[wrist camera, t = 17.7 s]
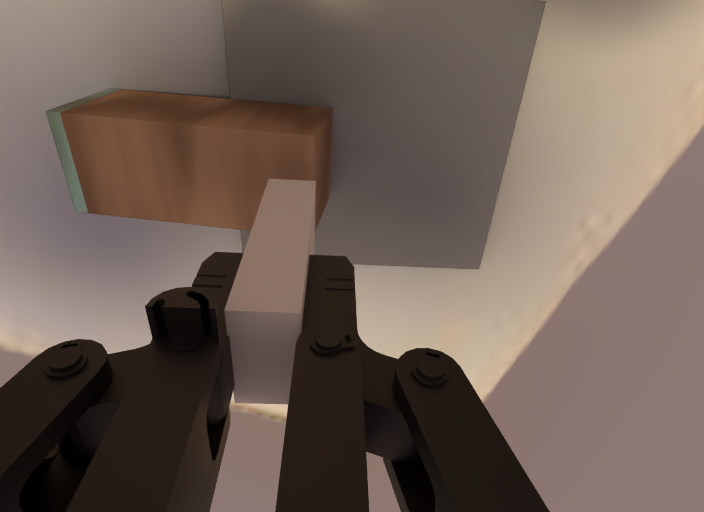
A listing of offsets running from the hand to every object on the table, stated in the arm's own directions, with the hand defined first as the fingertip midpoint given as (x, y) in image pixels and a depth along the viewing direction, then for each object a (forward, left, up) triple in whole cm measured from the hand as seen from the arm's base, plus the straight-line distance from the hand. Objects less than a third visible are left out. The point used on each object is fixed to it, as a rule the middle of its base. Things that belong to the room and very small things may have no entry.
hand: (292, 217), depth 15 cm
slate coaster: (+3, -1, -10) cm, 10 cm away
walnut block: (+1, -1, -6) cm, 6 cm away
